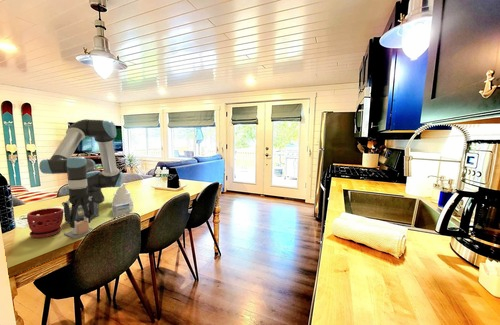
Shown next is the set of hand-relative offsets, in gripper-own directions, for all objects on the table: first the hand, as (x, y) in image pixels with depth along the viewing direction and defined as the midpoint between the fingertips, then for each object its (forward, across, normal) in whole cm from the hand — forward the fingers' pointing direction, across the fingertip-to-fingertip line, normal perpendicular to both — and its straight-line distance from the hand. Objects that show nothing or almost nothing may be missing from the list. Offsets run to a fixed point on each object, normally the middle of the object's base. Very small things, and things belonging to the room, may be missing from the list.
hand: (81, 231), depth 109 cm
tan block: (0, 0, 0) cm, 1 cm away
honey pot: (+1, -33, -16) cm, 37 cm away
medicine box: (+1, -23, -2) cm, 23 cm away
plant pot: (+1, +8, -14) cm, 16 cm away
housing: (+1, -11, -20) cm, 23 cm away
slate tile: (+1, 0, 0) cm, 1 cm away
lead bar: (+1, -11, -20) cm, 23 cm away
